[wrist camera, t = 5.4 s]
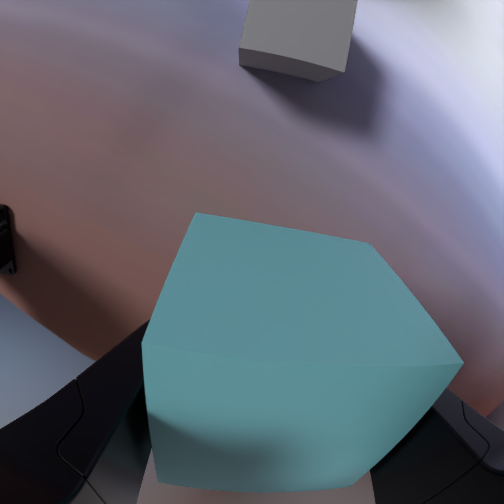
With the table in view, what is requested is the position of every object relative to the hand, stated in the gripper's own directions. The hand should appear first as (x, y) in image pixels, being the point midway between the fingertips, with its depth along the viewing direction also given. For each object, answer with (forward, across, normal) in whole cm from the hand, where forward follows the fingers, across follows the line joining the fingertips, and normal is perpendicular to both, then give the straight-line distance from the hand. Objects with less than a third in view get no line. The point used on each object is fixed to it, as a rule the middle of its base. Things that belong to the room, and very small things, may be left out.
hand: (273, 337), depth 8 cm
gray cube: (+13, 0, -11) cm, 17 cm away
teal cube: (+2, 0, 0) cm, 2 cm away
